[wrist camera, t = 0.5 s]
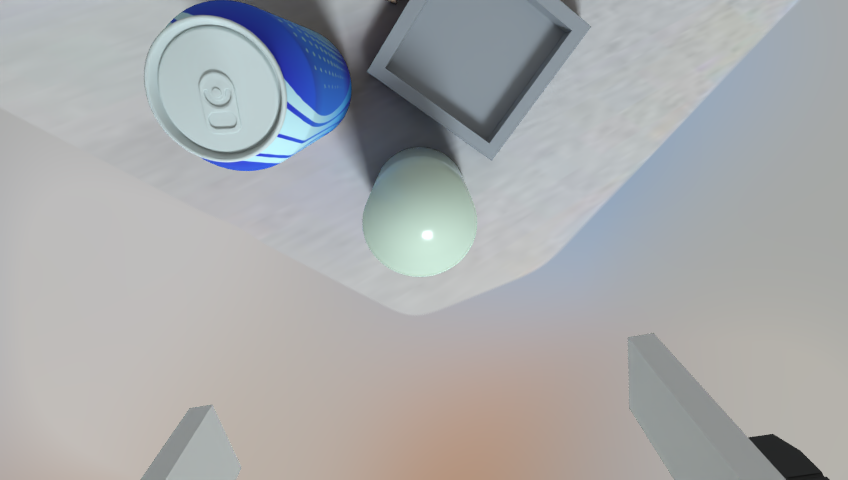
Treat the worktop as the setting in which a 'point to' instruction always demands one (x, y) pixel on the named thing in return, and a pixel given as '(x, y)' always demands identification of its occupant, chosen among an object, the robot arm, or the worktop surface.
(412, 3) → the slate tray
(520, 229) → the worktop surface
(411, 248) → the pale green cylinder
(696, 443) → the robot arm
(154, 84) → the beer can
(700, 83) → the worktop surface
